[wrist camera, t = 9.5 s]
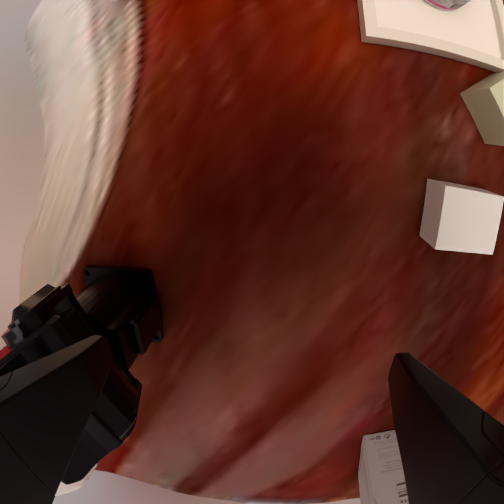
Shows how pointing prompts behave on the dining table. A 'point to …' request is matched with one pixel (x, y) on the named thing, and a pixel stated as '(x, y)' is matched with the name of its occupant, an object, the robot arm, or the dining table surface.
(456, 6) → the pill bottle
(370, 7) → the tray
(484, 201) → the white block
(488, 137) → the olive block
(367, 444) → the supplement box
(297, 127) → the dining table surface
